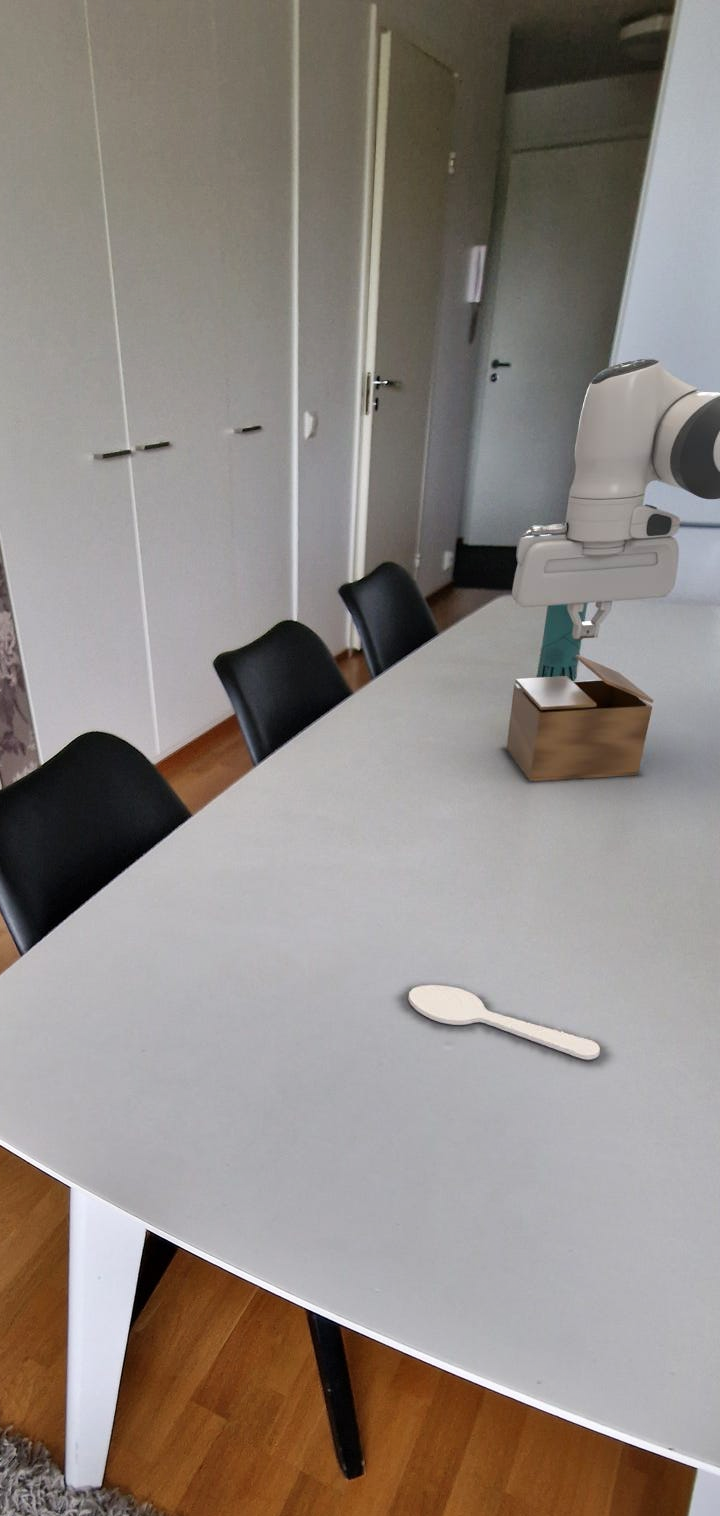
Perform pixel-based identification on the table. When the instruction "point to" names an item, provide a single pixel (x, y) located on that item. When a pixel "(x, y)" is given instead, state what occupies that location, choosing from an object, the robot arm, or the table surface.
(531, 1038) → the spoon
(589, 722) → the carton
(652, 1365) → the table surface
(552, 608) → the beverage bottle
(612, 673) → the flap
